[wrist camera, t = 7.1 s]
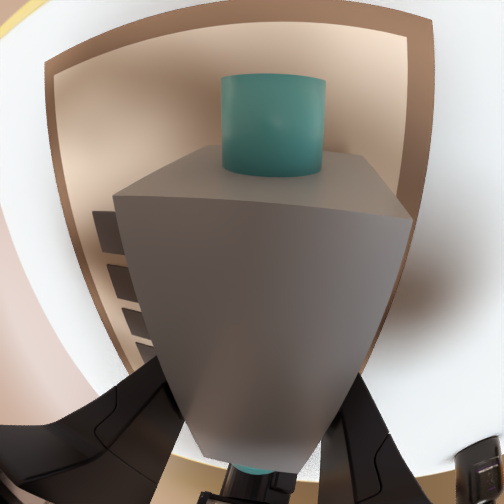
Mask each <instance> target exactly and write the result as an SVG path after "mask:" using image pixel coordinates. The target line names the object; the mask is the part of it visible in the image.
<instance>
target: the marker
mask: <svg viewBox="0 0 504 504" xmlns="http://www.w3.org/2000/svg"><path fill="white" fill-rule="evenodd" d="M325 95H326V81H325V80H322V79H319V78H314V77H308V76H301V75H291V74H273V73H256V74H239V75H231V76H225V77H222V78H221V134H222V145H207V146H205V147H203V148H201V149H198V150H196V151H194V152H192V153H190V154H188V155H186V156H184V157H182V158H180V159H178V160H176V161H174V162H172V163H170V164H168V165H166V166H164V167H162V168H160V169H158V170H156V171H154V172H152V173H151V174H149V175H147V176H145V177H143V178H141V179H140V180H138V181H136V182H134V183H133V184H131V185H129V186H127V187H126V188H124V189H122V190H120V191H119V192H117V193H115V194H114V195H112V198H113V203H114V208H115V213H116V218H117V223H118V228H119V232H120V237H121V241H122V245H123V249H124V253H125V257H126V261H127V265H128V269H129V272H130V276H131V280H132V283H133V287H134V290H135V293H136V297H137V300H138V303H139V306H140V309H141V312H142V315H143V318H144V321H145V324H146V327H147V330H148V333H149V336H150V339H151V341H152V344H153V347H154V349H155V352H156V355H157V357H158V360H159V362H160V365H161V367H162V370H163V372H164V375H165V377H166V380H167V382H168V384H169V387H170V389H171V391H172V393H173V396H174V398H175V400H176V402H177V405H178V407H179V409H180V411H181V413H182V415H183V417H184V419H185V421H186V423H187V425H188V427H189V429H190V431H191V433H192V435H193V437H194V439H195V441H196V443H197V445H198V447H199V449H200V450H201V452H202V454H203V456H204V457H207V458H211V459H215V460H219V461H223V462H227V463H231V464H232V465H233V466H234V467H236V468H237V469H239V470H241V471H243V472H245V473H249V474H255V475H262V474H268V473H272V472H274V471H279V472H287V473H297V474H298V473H299V472H300V470H301V469H302V467H303V466H304V464H305V463H306V462H307V460H308V459H309V457H310V456H311V454H312V453H313V451H314V450H315V448H316V447H317V445H318V443H319V442H320V440H321V439H322V437H323V436H324V434H325V432H326V431H327V429H328V427H329V426H330V424H331V422H332V421H333V419H334V417H335V415H336V414H337V412H338V410H339V408H340V407H341V405H342V403H343V401H344V399H345V397H346V395H347V394H348V392H349V390H350V388H351V386H352V384H353V382H354V380H355V378H356V376H357V374H358V372H359V370H360V368H361V366H362V364H363V361H364V359H365V357H366V355H367V353H368V350H369V348H370V346H371V344H372V341H373V339H374V337H375V334H376V332H377V329H378V327H379V325H380V322H381V320H382V317H383V314H384V312H385V309H386V307H387V304H388V301H389V298H390V296H391V293H392V290H393V287H394V284H395V281H396V278H397V275H398V272H399V269H400V266H401V262H402V259H403V256H404V252H405V249H406V245H407V242H408V238H409V234H410V230H411V226H412V222H413V219H412V218H411V216H410V215H409V213H408V212H407V211H406V209H405V208H404V207H403V205H402V204H401V203H400V201H399V200H398V199H397V197H396V196H395V195H394V193H393V192H392V191H391V189H390V188H389V187H388V186H387V184H386V183H385V182H384V181H383V179H382V178H381V177H380V176H379V174H378V173H377V172H376V171H375V170H374V168H373V167H372V166H371V165H370V164H369V163H368V161H367V160H366V159H365V158H364V157H363V156H361V155H354V154H346V153H338V152H330V151H323V138H324V120H325Z"/></svg>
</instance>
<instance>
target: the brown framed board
mask: <svg viewBox="0 0 504 504" xmlns="http://www.w3.org/2000/svg"><path fill="white" fill-rule="evenodd" d="M256 73H273V74H291V75H301V76H308V77H314V78H319V79H322V80H325V81H326V95H325V120H324V138H323V151H330V152H338V153H346V154H354V155H361V156H363V157H364V158H365V159H366V160H367V161H368V163H369V164H370V165H371V166H372V167H373V168H374V170H375V171H376V172H377V173H378V174H379V176H380V177H381V178H382V179H383V181H384V182H385V183H386V184H387V186H388V187H389V188H390V189H391V191H392V192H393V193H394V195H395V196H396V197H397V199H398V200H399V201H400V203H401V204H402V205H403V207H404V208H405V209H406V211H407V212H408V213H409V215H410V216H411V218H412V219H413V222H412V226H411V230H410V234H409V238H408V242H407V245H406V249H405V252H404V256H403V259H402V262H401V266H400V269H399V272H398V275H397V278H396V281H395V284H394V287H393V290H392V293H391V296H390V298H389V301H388V304H387V307H386V309H385V312H384V314H383V317H382V320H381V322H380V325H379V327H378V329H377V332H376V334H375V337H374V339H373V341H372V344H371V346H370V348H369V350H368V353H367V355H366V357H365V359H364V361H363V364H362V366H361V368H360V370H359V373H360V375H361V374H362V372H363V370H364V368H365V366H366V364H367V361H368V359H369V357H370V355H371V353H372V351H373V348H374V346H375V344H376V341H377V339H378V337H379V334H380V332H381V329H382V327H383V325H384V322H385V320H386V317H387V314H388V312H389V309H390V306H391V304H392V301H393V298H394V295H395V293H396V290H397V287H398V284H399V281H400V278H401V275H402V271H403V268H404V265H405V262H406V258H407V255H408V251H409V248H410V244H411V241H412V237H413V233H414V229H415V225H416V221H417V217H418V212H419V208H420V203H421V198H422V193H423V188H424V183H425V177H426V171H427V165H428V158H429V151H430V143H431V133H432V123H433V110H434V87H435V59H434V38H433V25H432V20H430V19H427V18H424V17H420V16H417V15H413V14H410V13H406V12H402V11H399V10H394V9H390V8H386V7H381V6H376V5H371V4H365V3H359V2H352V1H344V0H228V1H221V2H214V3H208V4H202V5H196V6H191V7H186V8H182V9H177V10H173V11H169V12H165V13H161V14H158V15H154V16H151V17H147V18H144V19H141V20H138V21H135V22H132V23H129V24H126V25H123V26H120V27H118V28H115V29H113V30H110V31H107V32H105V33H103V34H100V35H98V36H96V37H93V38H91V39H89V40H87V41H84V42H82V43H80V44H78V45H76V46H74V47H72V48H70V49H68V50H66V51H64V52H62V53H60V54H59V55H57V56H55V57H53V58H51V59H50V60H48V61H46V62H45V101H46V115H47V125H48V134H49V142H50V149H51V156H52V162H53V167H54V173H55V178H56V183H57V188H58V192H59V196H60V201H61V205H62V209H63V213H64V217H65V220H66V224H67V227H68V231H69V234H70V238H71V241H72V244H73V247H74V250H75V253H76V256H77V259H78V262H79V265H80V268H81V271H82V274H83V276H84V279H85V282H86V284H87V287H88V289H89V292H90V294H91V297H92V299H93V302H94V304H95V306H96V309H97V311H98V313H99V316H100V318H101V320H102V322H103V324H104V327H105V329H106V331H107V333H108V335H109V337H110V339H111V341H112V343H113V345H114V347H115V349H116V351H117V353H118V355H119V357H120V359H121V360H122V362H123V364H124V366H125V368H126V370H127V371H128V373H129V375H130V374H132V373H133V372H134V371H136V370H137V369H138V368H140V367H141V366H142V365H144V364H145V363H146V362H148V361H149V360H150V359H152V358H153V357H154V356H156V352H155V349H154V347H153V344H152V341H151V339H150V336H149V333H148V330H147V327H146V324H145V321H144V318H143V315H142V312H141V309H140V306H139V303H138V300H137V297H136V293H135V290H134V287H133V283H132V280H131V276H130V272H129V269H128V265H127V261H126V257H125V253H124V249H123V245H122V241H121V237H120V232H119V228H118V223H117V218H116V213H115V208H114V203H113V198H112V195H114V194H115V193H117V192H119V191H120V190H122V189H124V188H126V187H127V186H129V185H131V184H133V183H134V182H136V181H138V180H140V179H141V178H143V177H145V176H147V175H149V174H151V173H152V172H154V171H156V170H158V169H160V168H162V167H164V166H166V165H168V164H170V163H172V162H174V161H176V160H178V159H180V158H182V157H184V156H186V155H188V154H190V153H192V152H194V151H196V150H198V149H201V148H203V147H205V146H207V145H222V134H221V78H222V77H225V76H231V75H239V74H256Z"/></svg>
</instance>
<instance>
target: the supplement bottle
mask: <svg viewBox="0 0 504 504" xmlns="http://www.w3.org/2000/svg"><path fill="white" fill-rule="evenodd" d="M455 476H456V504H496V500H497V499H498V498H499V497H500V495H501V494H502V493H503V490H504V477H503V476H504V474H503V464H502V455H501V448H500V442H499V439H498V438H497V437H491V438H488V439H485V440H482V441H480V442H478V443H475V444H473V445H471V446H469V447H467V448H465V449H464V450H462V451H461V452H459V453H458V454H457V455H456V457H455Z"/></svg>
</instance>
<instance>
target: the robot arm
mask: <svg viewBox="0 0 504 504" xmlns="http://www.w3.org/2000/svg"><path fill="white" fill-rule="evenodd" d="M184 421H185V419H184V417H183V415H182V413H181V411H180V409H179V407H178V405H177V402H176V400H175V398H174V396H173V393H172V391H171V389H170V387H169V384H168V382H167V380H166V377H165V375H164V372H163V370H162V367H161V365H160V362H159V360H158V357H157V355H156V356H154V357H153V358H152V359H150V360H149V361H148V362H146V363H145V364H144V365H142V366H141V367H140V368H138V369H137V370H136V371H134V372H133V373H132V374H130V375H129V376H128V377H126V378H125V379H124V380H122V381H121V382H120V383H118V384H117V386H114V387H113V388H111V389H110V390H108V391H107V392H106V393H104V394H103V395H101V396H100V397H98V398H97V399H95V400H94V401H92V402H90V403H89V404H87V405H86V406H84V407H82V408H80V409H78V410H76V411H75V412H73V413H71V414H69V415H67V416H65V417H64V418H62V419H60V420H58V421H56V422H53V423H50V424H46V425H30V426H29V425H28V426H27V425H26V426H25V425H23V426H22V425H0V504H150V502H151V499H152V497H153V495H154V492H155V490H156V488H157V484H158V483H159V480H160V478H161V476H162V473H163V471H164V469H165V466H166V464H167V462H168V459H169V457H170V455H171V452H172V450H173V447H174V445H175V443H176V440H177V438H178V436H179V433H180V431H181V429H182V426H183V424H184ZM388 433H389V430H388V428H387V426H386V424H385V422H384V420H383V418H382V416H381V414H380V412H379V410H378V408H377V406H376V404H375V402H374V400H373V398H372V396H371V394H370V392H369V390H368V388H367V386H366V384H365V383H364V381H363V379H362V377H361V375H360V373H359V372H358V374H357V376H356V378H355V380H354V382H353V384H352V386H351V388H350V390H349V392H348V394H347V395H346V397H345V399H344V401H343V403H342V405H341V407H340V408H339V410H338V412H337V414H336V415H335V417H334V419H333V421H332V422H331V424H330V426H329V427H328V429H327V431H326V432H325V434H324V436H323V437H322V439H321V460H320V479H319V495H318V504H433V503H432V502H431V501H430V500H429V499H428V498H427V496H426V494H425V493H424V491H423V490H422V488H421V486H420V485H419V483H418V482H417V480H416V479H415V477H414V476H413V474H412V472H411V471H410V469H409V468H408V466H407V464H406V463H405V461H404V459H403V458H402V456H401V454H400V452H399V450H398V448H397V446H396V445H395V443H394V440H393V438H392V436H391V434H388ZM296 479H297V473H287V472H279V471H274V472H272V473H268V474H262V475H255V474H249V473H245V472H243V471H241V470H239V469H237V468H236V467H234V466H233V465H232V464H231V463H229V466H228V469H227V473H226V475H225V479H224V482H223V485H222V489H221V491H220V495H216V494H212V493H211V492H208V491H205V492H201V494H200V497H199V499H198V502H197V504H215V503H217V504H289V499H290V495H291V493H293V492H294V490H295V484H296Z"/></svg>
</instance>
